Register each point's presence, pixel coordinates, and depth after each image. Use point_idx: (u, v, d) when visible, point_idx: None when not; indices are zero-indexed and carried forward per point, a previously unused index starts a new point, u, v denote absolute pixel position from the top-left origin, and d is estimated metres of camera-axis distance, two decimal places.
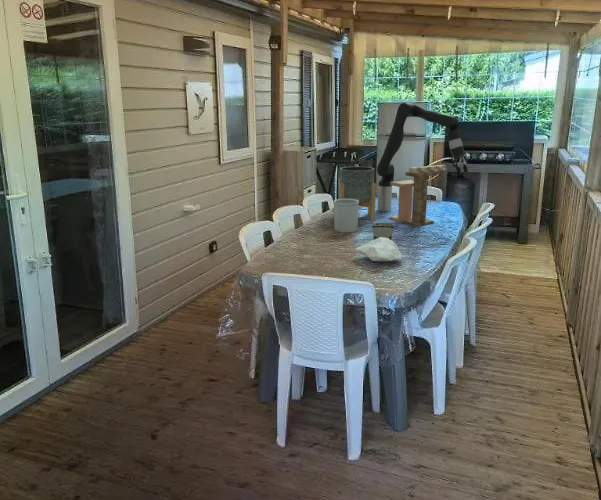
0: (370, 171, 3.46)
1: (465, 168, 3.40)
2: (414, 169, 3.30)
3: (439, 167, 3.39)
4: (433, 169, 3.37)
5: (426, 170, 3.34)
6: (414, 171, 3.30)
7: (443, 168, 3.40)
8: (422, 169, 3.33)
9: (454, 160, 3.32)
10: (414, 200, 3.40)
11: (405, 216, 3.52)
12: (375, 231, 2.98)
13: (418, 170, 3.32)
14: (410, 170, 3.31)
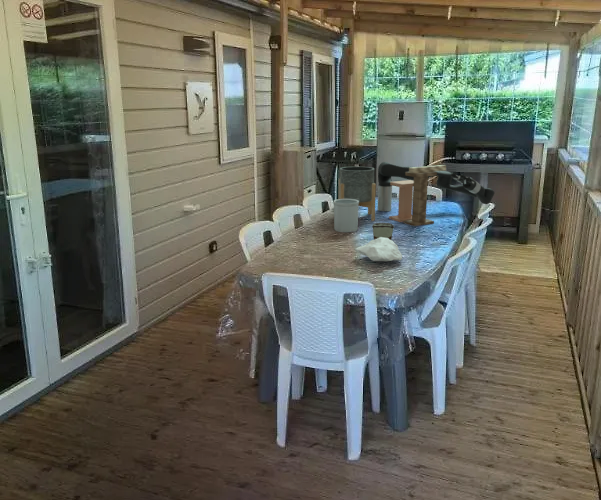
0: (370, 171, 3.46)
1: None
2: (414, 169, 3.30)
3: (439, 167, 3.39)
4: (433, 169, 3.37)
5: (426, 170, 3.34)
6: (414, 171, 3.30)
7: (443, 168, 3.40)
8: (422, 169, 3.33)
9: None
10: (414, 200, 3.40)
11: (405, 216, 3.52)
12: (375, 231, 2.98)
13: (418, 170, 3.32)
14: (410, 170, 3.31)
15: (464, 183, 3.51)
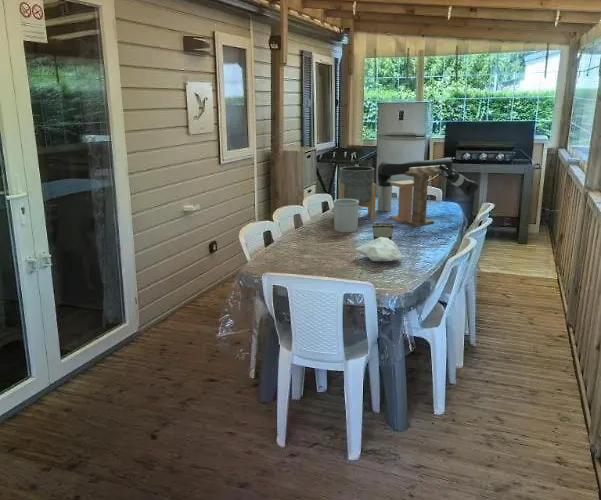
0: (370, 171, 3.46)
1: None
2: (414, 169, 3.30)
3: None
4: (433, 169, 3.37)
5: (426, 170, 3.34)
6: (414, 171, 3.30)
7: None
8: (422, 169, 3.33)
9: None
10: (414, 200, 3.40)
11: (405, 216, 3.52)
12: (375, 231, 2.98)
13: (418, 170, 3.32)
14: (410, 170, 3.31)
15: (446, 175, 3.44)
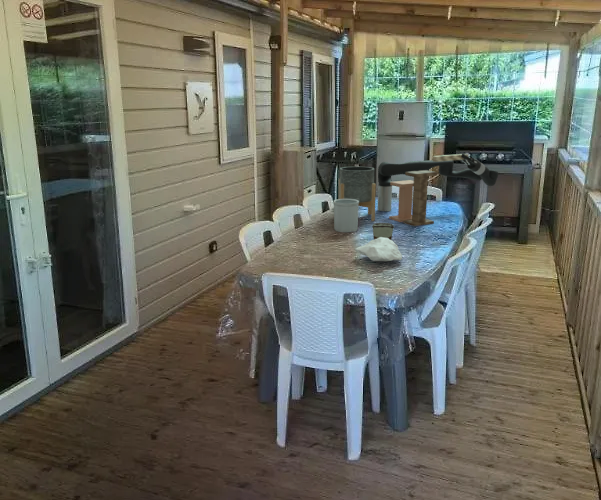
0: (370, 171, 3.46)
1: None
2: (437, 157, 3.36)
3: None
4: (456, 158, 3.43)
5: (449, 159, 3.41)
6: (437, 159, 3.37)
7: None
8: (445, 157, 3.39)
9: None
10: (414, 200, 3.40)
11: (405, 216, 3.52)
12: (375, 231, 2.98)
13: (441, 158, 3.38)
14: (433, 158, 3.38)
15: (468, 164, 3.50)
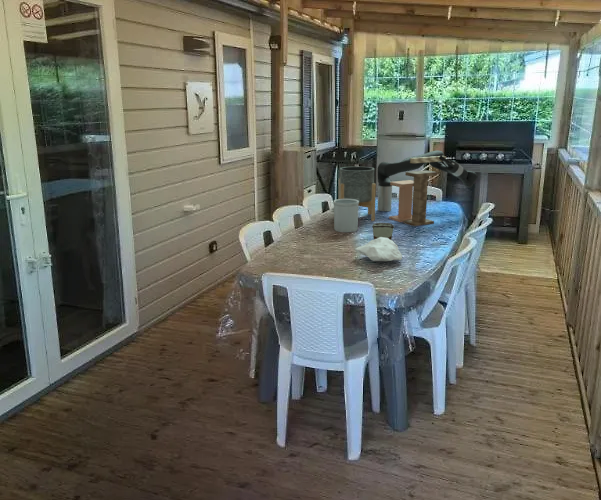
0: (370, 171, 3.46)
1: None
2: (415, 159, 3.44)
3: None
4: (433, 159, 3.51)
5: (427, 160, 3.49)
6: (415, 161, 3.45)
7: None
8: (423, 159, 3.47)
9: None
10: (414, 200, 3.40)
11: (405, 216, 3.52)
12: (375, 231, 2.98)
13: (419, 160, 3.46)
14: (411, 160, 3.46)
15: (446, 165, 3.58)
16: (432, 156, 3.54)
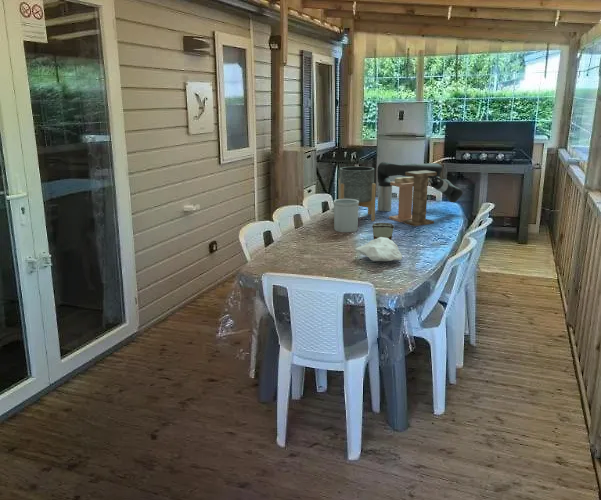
0: (370, 171, 3.46)
1: None
2: (399, 179, 3.44)
3: None
4: None
5: (411, 180, 3.49)
6: (399, 181, 3.45)
7: (428, 178, 3.54)
8: (407, 179, 3.47)
9: None
10: (414, 200, 3.40)
11: (405, 216, 3.52)
12: (375, 231, 2.98)
13: (403, 180, 3.46)
14: (396, 180, 3.46)
15: (431, 182, 3.57)
16: None
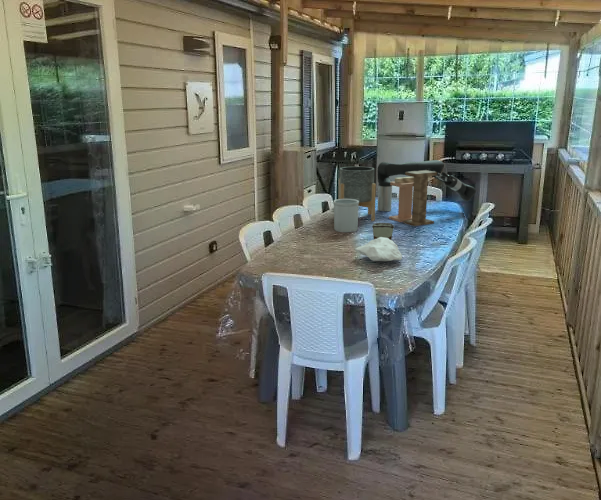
0: (370, 171, 3.46)
1: None
2: (399, 179, 3.44)
3: None
4: None
5: (411, 180, 3.49)
6: (399, 181, 3.45)
7: (428, 178, 3.54)
8: (407, 179, 3.47)
9: None
10: (414, 200, 3.40)
11: (405, 216, 3.52)
12: (375, 231, 2.98)
13: (403, 180, 3.46)
14: (396, 180, 3.46)
15: (445, 180, 3.62)
16: None
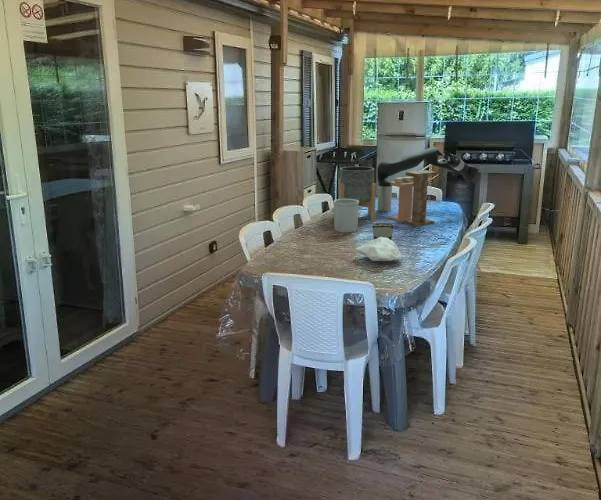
0: (370, 171, 3.46)
1: None
2: (399, 179, 3.44)
3: None
4: None
5: (411, 180, 3.49)
6: (399, 181, 3.45)
7: (428, 178, 3.54)
8: (407, 179, 3.47)
9: None
10: (414, 200, 3.40)
11: (405, 216, 3.52)
12: (375, 231, 2.98)
13: (403, 180, 3.46)
14: (396, 180, 3.46)
15: (448, 160, 3.65)
16: None
